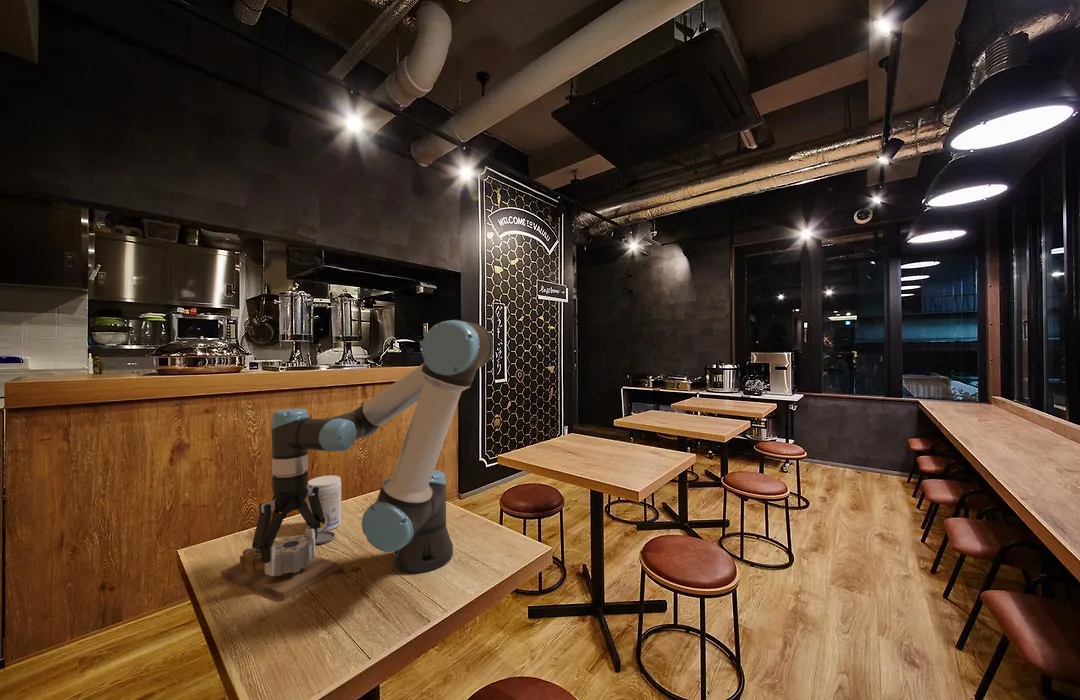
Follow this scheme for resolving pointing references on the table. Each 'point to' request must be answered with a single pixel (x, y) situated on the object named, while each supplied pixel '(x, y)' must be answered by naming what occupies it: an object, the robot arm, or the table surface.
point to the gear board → (278, 586)
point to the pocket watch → (323, 536)
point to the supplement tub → (329, 498)
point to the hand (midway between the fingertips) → (291, 563)
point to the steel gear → (293, 554)
